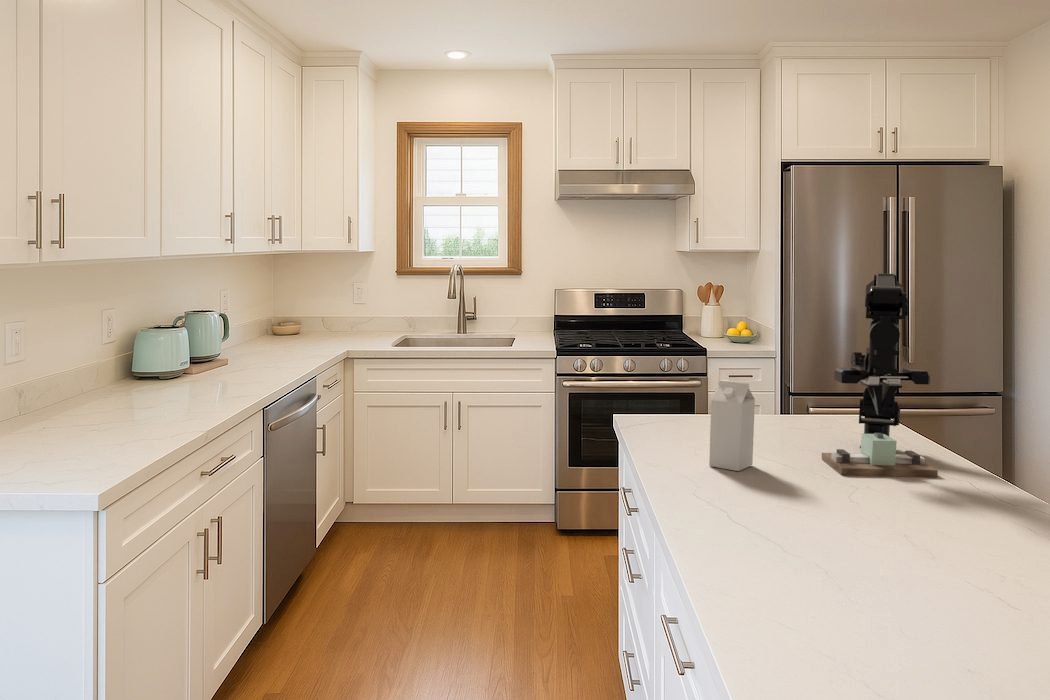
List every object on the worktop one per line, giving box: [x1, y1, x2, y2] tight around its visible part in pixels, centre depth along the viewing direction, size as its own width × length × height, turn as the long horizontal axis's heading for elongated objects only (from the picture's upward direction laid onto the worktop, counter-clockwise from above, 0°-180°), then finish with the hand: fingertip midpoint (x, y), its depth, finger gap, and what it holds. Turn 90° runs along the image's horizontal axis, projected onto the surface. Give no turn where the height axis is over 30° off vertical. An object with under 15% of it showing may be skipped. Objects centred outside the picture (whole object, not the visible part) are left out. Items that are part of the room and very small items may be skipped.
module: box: [860, 433, 897, 465], centre depth 178 cm, size 5×7×6 cm
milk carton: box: [709, 380, 756, 472], centre depth 179 cm, size 7×7×19 cm
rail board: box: [821, 448, 939, 478], centre depth 179 cm, size 20×14×4 cm
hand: (879, 414), depth 178 cm, fingers closed
